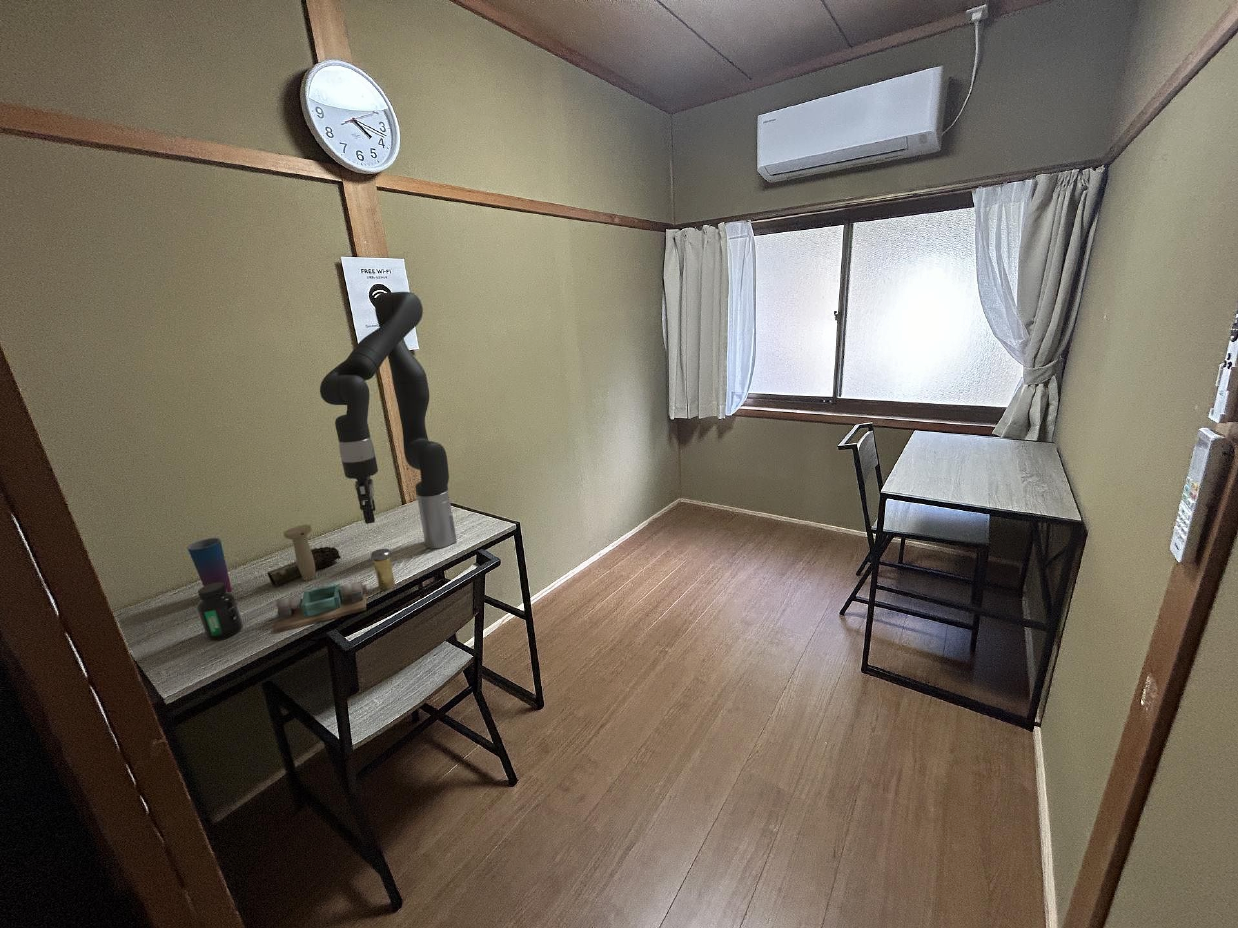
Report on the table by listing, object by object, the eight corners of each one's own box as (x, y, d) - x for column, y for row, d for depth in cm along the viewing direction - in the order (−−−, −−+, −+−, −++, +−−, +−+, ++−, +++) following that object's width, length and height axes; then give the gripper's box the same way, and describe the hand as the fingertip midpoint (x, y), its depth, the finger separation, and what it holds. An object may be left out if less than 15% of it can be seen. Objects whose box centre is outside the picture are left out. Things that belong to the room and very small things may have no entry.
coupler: (396, 580, 138) (389, 547, 135) (396, 587, 134) (389, 554, 131) (377, 584, 136) (370, 551, 133) (377, 592, 132) (370, 558, 129)
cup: (201, 603, 130) (183, 551, 126) (207, 591, 136) (191, 541, 132) (233, 596, 133) (217, 545, 129) (238, 584, 139) (222, 535, 135)
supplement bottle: (222, 643, 114) (206, 597, 110) (200, 639, 116) (184, 593, 112) (250, 625, 120) (236, 581, 117) (228, 621, 122) (214, 578, 118)
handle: (325, 575, 142) (314, 526, 138) (302, 585, 137) (289, 535, 133) (317, 570, 145) (305, 523, 140) (293, 581, 140) (280, 532, 135)
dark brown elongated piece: (276, 589, 136) (271, 571, 135) (268, 582, 141) (262, 564, 139) (343, 563, 149) (339, 545, 148) (334, 557, 153) (330, 540, 152)
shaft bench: (366, 587, 135) (363, 570, 133) (365, 610, 124) (361, 592, 123) (284, 606, 127) (279, 589, 126) (276, 632, 117) (270, 614, 116)
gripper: (374, 461, 119) (386, 523, 124) (375, 447, 132) (386, 504, 137) (338, 466, 117) (352, 530, 121) (343, 452, 129) (356, 510, 134)
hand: (370, 516), depth 129 cm, fingers open, 8 cm apart
